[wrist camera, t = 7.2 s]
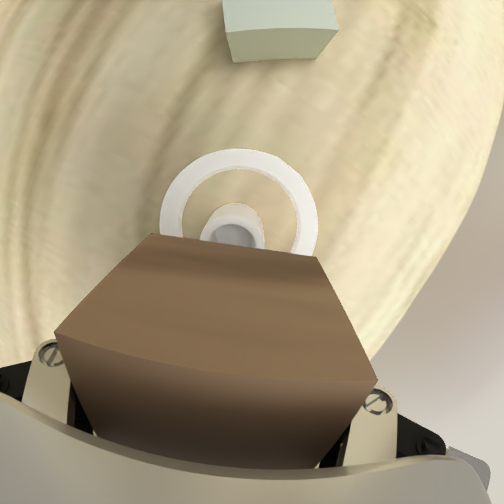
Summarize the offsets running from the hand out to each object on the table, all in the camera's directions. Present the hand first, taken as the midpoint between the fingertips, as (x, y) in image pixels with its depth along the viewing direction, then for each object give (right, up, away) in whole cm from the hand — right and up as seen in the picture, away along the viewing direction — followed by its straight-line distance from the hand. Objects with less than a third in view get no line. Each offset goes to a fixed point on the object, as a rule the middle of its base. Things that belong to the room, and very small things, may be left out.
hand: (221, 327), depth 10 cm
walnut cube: (0, 0, +1) cm, 1 cm away
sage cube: (+2, +19, +5) cm, 20 cm away
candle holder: (0, +5, +11) cm, 12 cm away
